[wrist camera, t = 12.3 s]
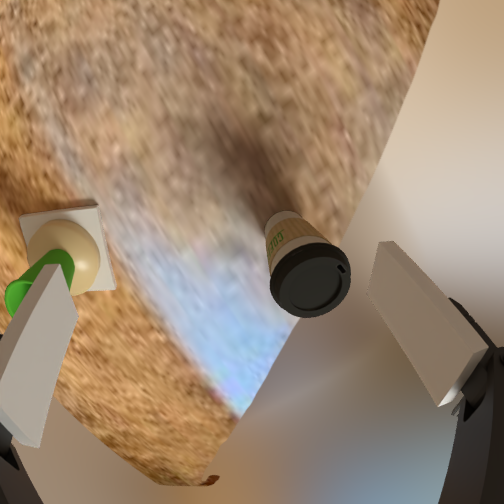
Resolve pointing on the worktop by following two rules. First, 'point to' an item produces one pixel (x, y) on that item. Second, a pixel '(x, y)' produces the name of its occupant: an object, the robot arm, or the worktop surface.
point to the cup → (22, 285)
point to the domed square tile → (72, 244)
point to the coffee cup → (304, 267)
